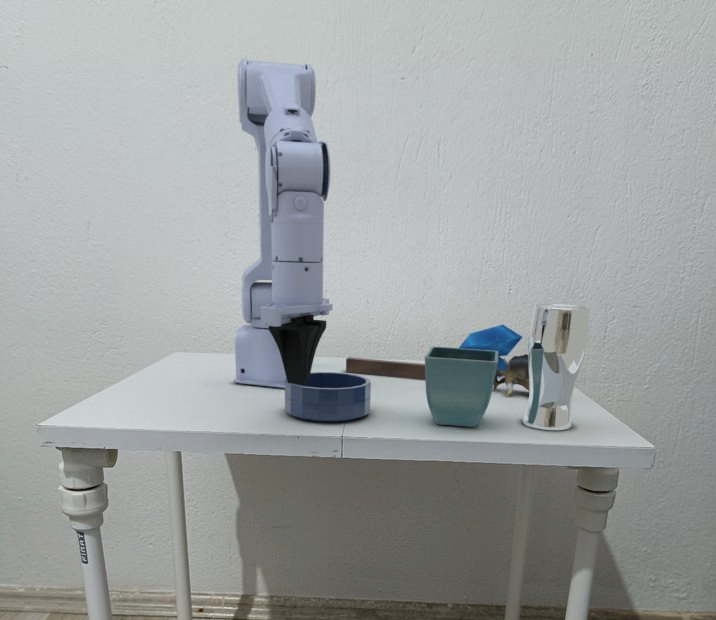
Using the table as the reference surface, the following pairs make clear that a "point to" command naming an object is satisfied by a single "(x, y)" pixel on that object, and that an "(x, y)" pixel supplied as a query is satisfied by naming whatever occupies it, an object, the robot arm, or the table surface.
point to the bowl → (329, 397)
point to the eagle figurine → (514, 373)
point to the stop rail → (385, 368)
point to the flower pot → (459, 384)
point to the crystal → (493, 342)
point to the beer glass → (554, 363)
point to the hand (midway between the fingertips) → (297, 382)
